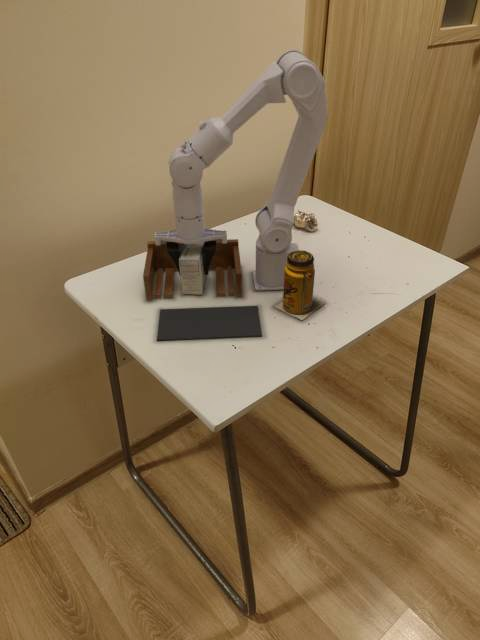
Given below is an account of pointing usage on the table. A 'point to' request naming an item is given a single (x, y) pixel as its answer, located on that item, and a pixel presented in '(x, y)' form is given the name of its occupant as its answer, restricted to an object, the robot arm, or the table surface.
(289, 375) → the table surface
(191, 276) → the medicine box
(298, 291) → the condiment
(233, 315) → the rubber mat
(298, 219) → the ornament
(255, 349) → the table surface
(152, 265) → the shelf rack
